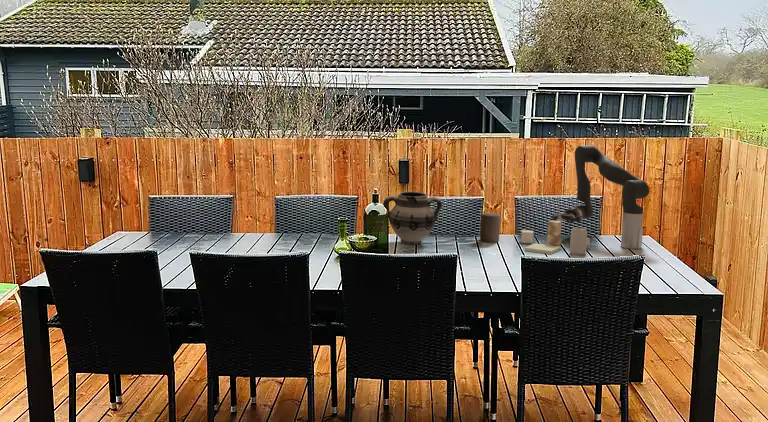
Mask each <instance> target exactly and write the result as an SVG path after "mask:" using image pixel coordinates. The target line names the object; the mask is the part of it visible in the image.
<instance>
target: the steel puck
mask: <svg viewBox="0 0 768 422" xmlns="http://www.w3.org/2000/svg"><path fill="white" fill-rule="evenodd" d="M590 239H591V238H590V237H587V246H586V251H588V250H590V243H591V241H590Z"/></svg>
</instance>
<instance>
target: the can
mask: <svg viewBox="0 0 768 422" xmlns="http://www.w3.org/2000/svg"><path fill="white" fill-rule="evenodd" d="M587 238H588V231H587V229H586V228H583V227H573V228H572V230H571V231H570V241H569V253H570V254H571V255H575V256H584V255H585V254H586V253H587V250H586V246H587Z"/></svg>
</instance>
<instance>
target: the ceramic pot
mask: <svg viewBox="0 0 768 422" xmlns="http://www.w3.org/2000/svg"><path fill="white" fill-rule="evenodd" d="M390 202H394V203H395V205H394V206H393V207H392V209H391V210H390V207H389V204H390ZM433 202H434V203H436V207H435V210H433V208H432V207H431V204H432V203H433ZM382 206H383V208H384V207H385V208H386V209H387V211H388V218H389V220H388V222H389V225H390V226H391V228H392V231H393V232H394V233H395V234H396V236H397V237H398V238H399V239H400V242H401V244H403V245H408V246H409V245H413V246H414V245H415V246H416V245H420V244H422V241H423V240H424V239H426V238H427V237H428V236H429V235H430V233H431V232H432V230H433V229H434V227H435V224H436V221H437V220H438V221H439V218H438V215H439V213H440V211H441V209H442V207H443V201H441V199H440V198H438V197H436V196H429V197H428V195H427V194H426V193H425V192H421V191H414V190H413V191H402V192H399V193H398V194H397V196H394V195H389V196H387V197H385V198H384V200H383V204H382Z"/></svg>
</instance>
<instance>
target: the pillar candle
mask: <svg viewBox="0 0 768 422" xmlns="http://www.w3.org/2000/svg"><path fill="white" fill-rule="evenodd" d="M500 226H501V214H499V213H494V212H491V211H490V212H483V213H481V214H480V231H479V241H480V242H483V243H489V244H491V243H493V244H495V243H496V244H497V243H499V241H500Z"/></svg>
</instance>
